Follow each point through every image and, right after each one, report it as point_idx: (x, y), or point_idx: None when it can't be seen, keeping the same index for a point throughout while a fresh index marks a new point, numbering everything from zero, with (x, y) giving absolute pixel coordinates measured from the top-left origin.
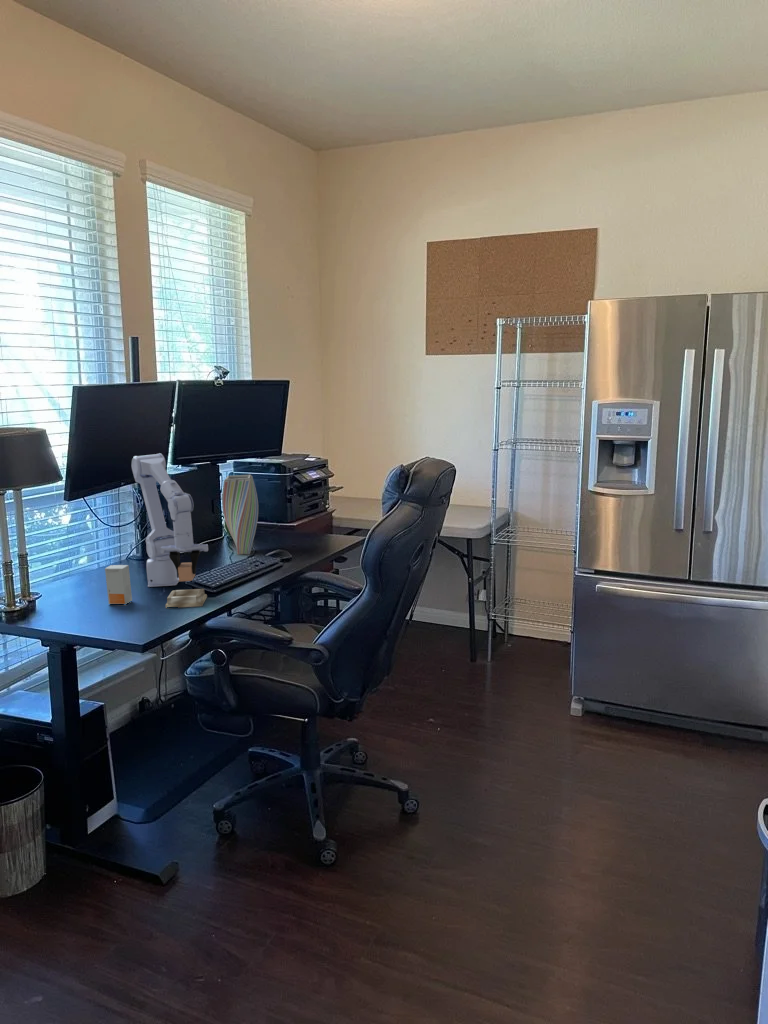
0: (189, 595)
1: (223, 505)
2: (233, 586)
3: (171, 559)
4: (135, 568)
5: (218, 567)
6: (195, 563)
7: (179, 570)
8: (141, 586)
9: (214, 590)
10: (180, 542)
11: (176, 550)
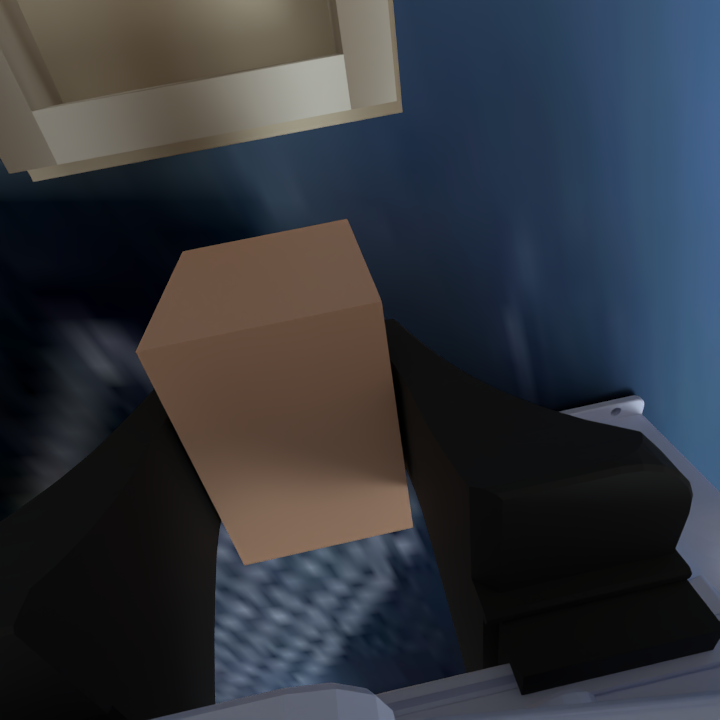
0: (181, 82)
1: None
2: (8, 455)
3: (575, 418)
4: None
5: (320, 667)
6: (78, 464)
7: (350, 285)
8: (675, 406)
9: (106, 364)
10: None
11: (543, 712)
